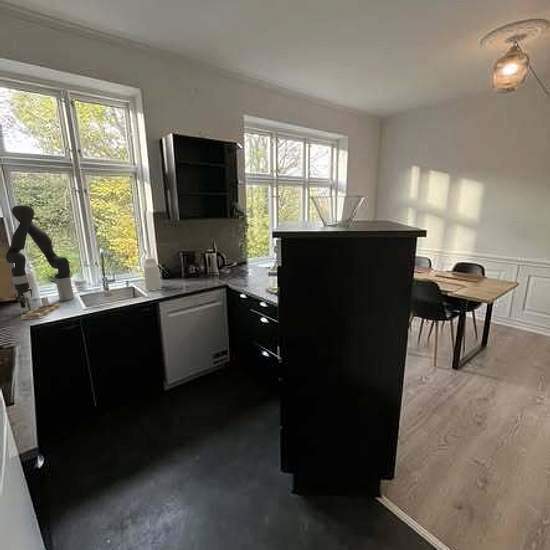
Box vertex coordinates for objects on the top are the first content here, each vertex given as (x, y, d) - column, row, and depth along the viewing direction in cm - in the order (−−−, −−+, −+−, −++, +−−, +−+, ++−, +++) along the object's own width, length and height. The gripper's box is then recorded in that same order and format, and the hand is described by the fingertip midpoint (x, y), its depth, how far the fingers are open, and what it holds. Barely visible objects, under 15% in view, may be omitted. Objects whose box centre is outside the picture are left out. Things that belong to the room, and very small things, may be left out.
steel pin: (45, 309, 213) (42, 297, 211) (51, 309, 213) (48, 296, 211) (42, 311, 209) (39, 298, 207) (48, 310, 210) (45, 298, 208)
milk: (146, 291, 250) (142, 260, 244) (146, 288, 260) (142, 258, 254) (161, 289, 254) (158, 259, 248) (161, 286, 265) (157, 256, 259)
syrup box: (21, 314, 205) (16, 293, 201) (25, 311, 210) (20, 291, 207) (31, 313, 206) (26, 292, 203) (35, 310, 212) (30, 290, 209)
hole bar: (42, 308, 216) (41, 304, 216) (60, 306, 218) (60, 303, 217) (21, 319, 194) (20, 316, 194) (42, 318, 196) (41, 314, 195)
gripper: (21, 280, 210) (27, 303, 214) (7, 285, 196) (13, 310, 200) (33, 279, 211) (38, 302, 215) (20, 284, 197) (26, 309, 201)
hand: (26, 305), depth 207 cm, fingers closed on syrup box, 6 cm apart
